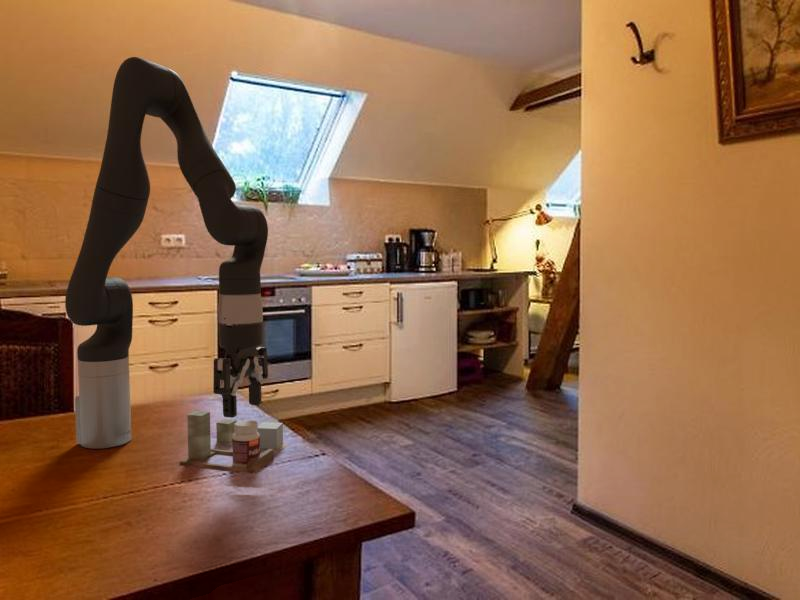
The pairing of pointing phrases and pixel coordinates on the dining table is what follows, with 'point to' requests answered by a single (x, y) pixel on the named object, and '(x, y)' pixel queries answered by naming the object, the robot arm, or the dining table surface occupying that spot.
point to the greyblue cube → (270, 435)
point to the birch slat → (230, 432)
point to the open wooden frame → (202, 449)
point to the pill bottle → (245, 442)
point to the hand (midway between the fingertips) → (243, 410)
